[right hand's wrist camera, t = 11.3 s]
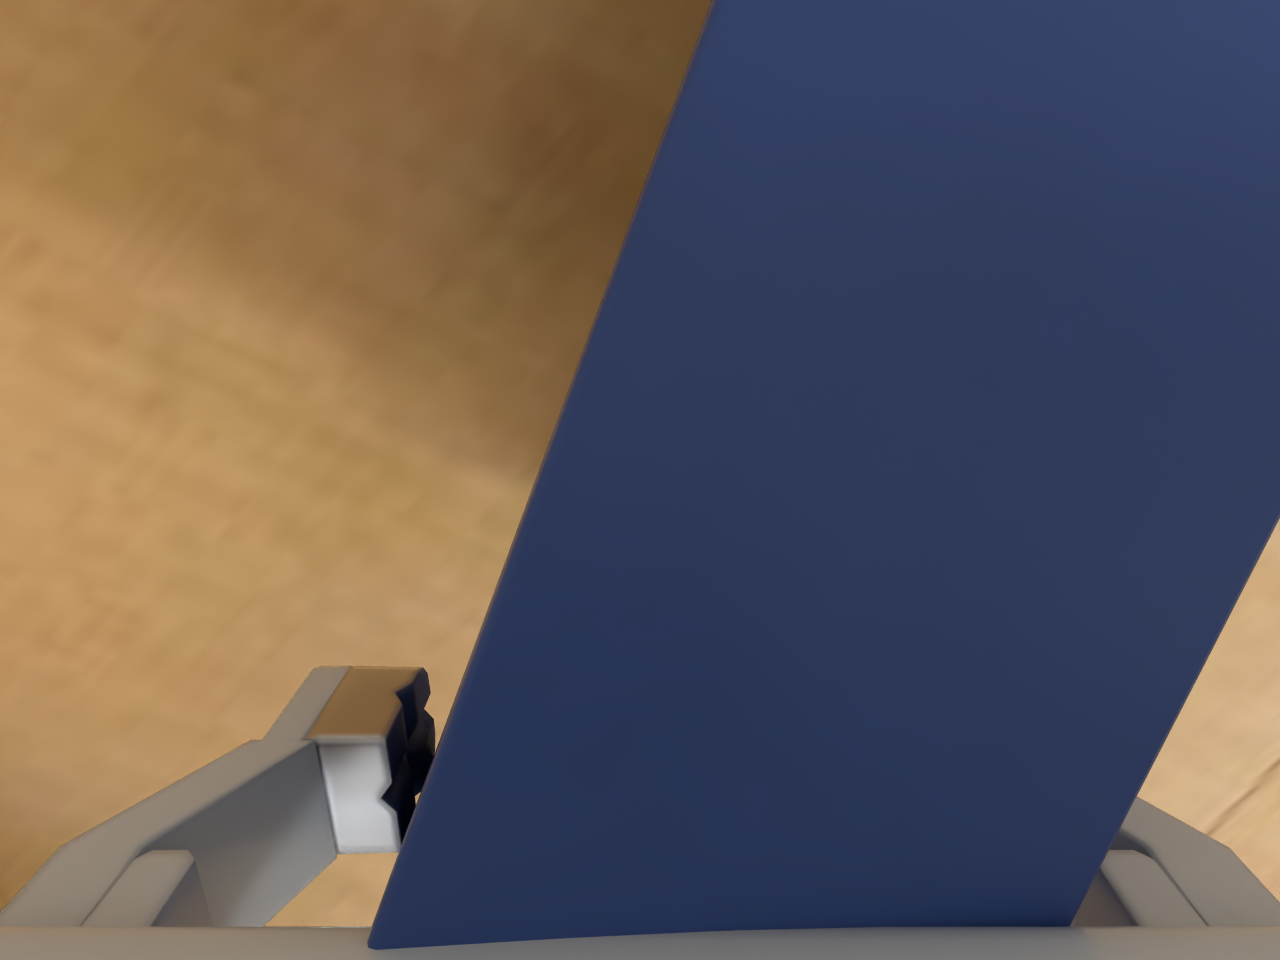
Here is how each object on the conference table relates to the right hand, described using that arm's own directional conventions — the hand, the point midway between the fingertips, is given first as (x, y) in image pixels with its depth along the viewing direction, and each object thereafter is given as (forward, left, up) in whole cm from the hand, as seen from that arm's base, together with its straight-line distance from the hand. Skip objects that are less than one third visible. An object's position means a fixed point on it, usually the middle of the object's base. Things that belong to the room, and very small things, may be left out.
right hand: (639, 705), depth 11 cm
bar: (+4, +9, -5) cm, 11 cm away
